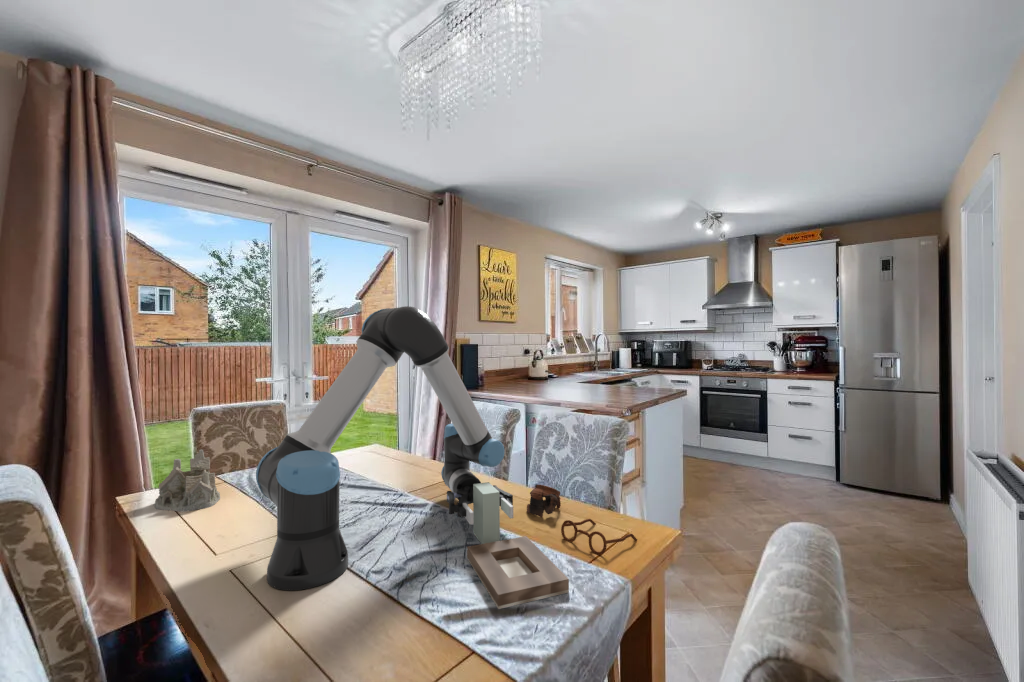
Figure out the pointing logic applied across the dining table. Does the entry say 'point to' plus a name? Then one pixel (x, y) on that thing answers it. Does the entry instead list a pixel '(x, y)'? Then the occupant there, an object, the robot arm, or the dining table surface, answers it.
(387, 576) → the dining table surface
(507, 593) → the taupe picture frame
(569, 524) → the glasses
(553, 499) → the brown piece
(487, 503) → the grey-green rectangular block
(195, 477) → the ceramic cottage
